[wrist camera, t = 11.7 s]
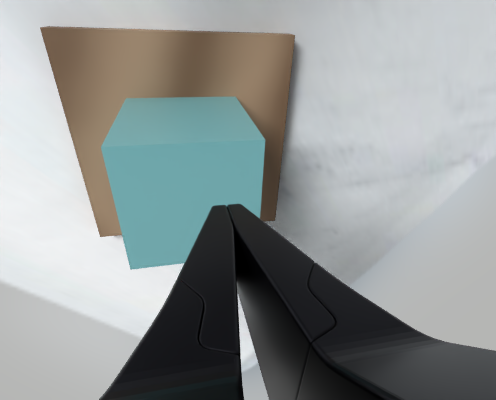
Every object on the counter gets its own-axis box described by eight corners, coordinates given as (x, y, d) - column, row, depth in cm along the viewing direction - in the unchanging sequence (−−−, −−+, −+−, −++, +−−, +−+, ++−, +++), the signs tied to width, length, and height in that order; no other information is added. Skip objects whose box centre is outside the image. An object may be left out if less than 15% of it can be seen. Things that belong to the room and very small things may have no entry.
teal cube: (235, 96, 17) (265, 139, 11) (234, 186, 20) (257, 254, 14) (126, 98, 16) (100, 147, 10) (143, 193, 19) (130, 269, 13)
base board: (288, 33, 17) (294, 35, 16) (271, 212, 23) (275, 220, 22) (47, 26, 14) (40, 27, 13) (103, 227, 21) (100, 236, 20)
